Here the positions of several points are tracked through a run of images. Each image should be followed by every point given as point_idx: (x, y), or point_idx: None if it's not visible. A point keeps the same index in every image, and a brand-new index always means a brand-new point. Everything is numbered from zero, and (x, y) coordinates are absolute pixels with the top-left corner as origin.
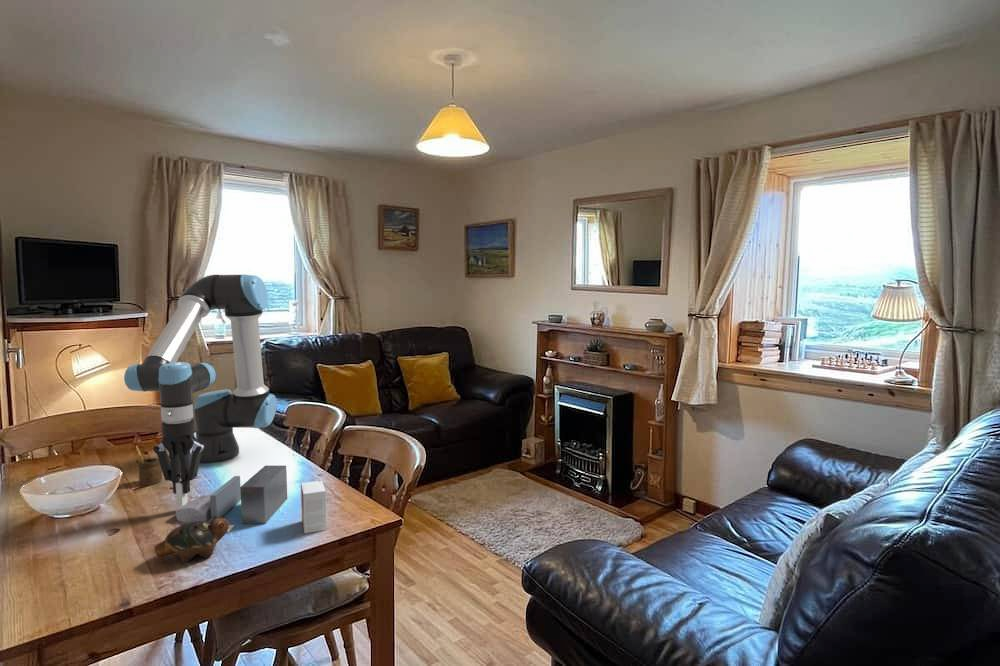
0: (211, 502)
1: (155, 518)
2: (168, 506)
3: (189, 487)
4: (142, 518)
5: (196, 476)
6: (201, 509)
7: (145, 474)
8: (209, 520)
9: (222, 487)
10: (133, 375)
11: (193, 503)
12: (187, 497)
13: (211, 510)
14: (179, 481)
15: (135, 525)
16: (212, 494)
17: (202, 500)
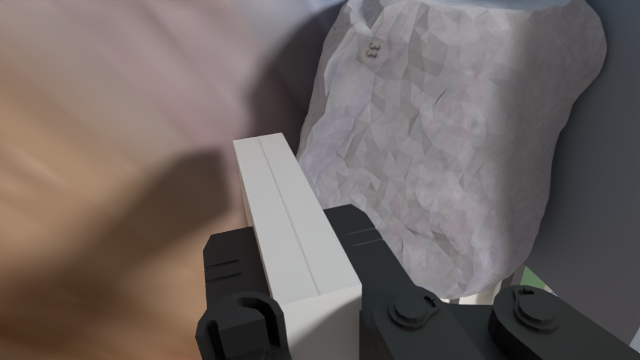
0: (585, 315)
1: (146, 271)
2: (39, 83)
3: (379, 242)
4: (48, 293)
5: (541, 290)
6: (490, 287)
7: None
8: (514, 282)
9: None
10: None
11: (368, 181)
12: (292, 153)
13: (542, 278)
14: (299, 355)
15: (105, 356)
16: (636, 342)
17: (433, 155)
